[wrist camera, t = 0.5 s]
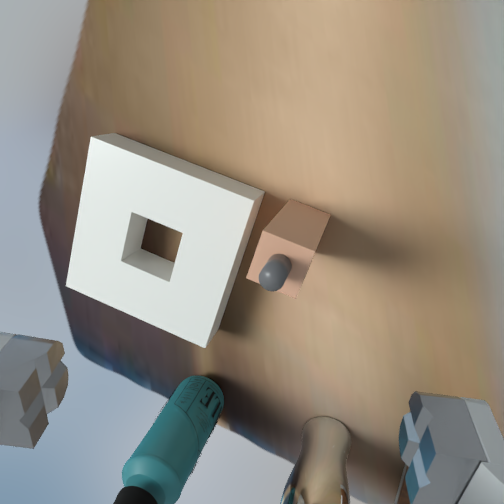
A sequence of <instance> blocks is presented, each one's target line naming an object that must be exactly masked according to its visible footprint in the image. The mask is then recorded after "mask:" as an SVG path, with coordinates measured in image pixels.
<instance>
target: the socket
mask: <svg viewBox="0 0 504 504" xmlns="http://www.w3.org/2000/svg"><path fill="white" fill-rule="evenodd" d="M264 193H265V191H262V190H260V189H257V188H255V187H252V186H249V185H247V184H244V183H242V182H239V181H237V180H234V179H231V178H229V177H226V176H224V175H221V174H219V173H216V172H213V171H211V170H208V169H206V168H203V167H201V166H198V165H195V164H193V163H190V162H188V161H185V160H183V159H180V158H178V157H175V156H172V155H170V154H167V153H165V152H162V151H160V150H157V149H154V148H152V147H149V146H147V145H144V144H142V143H139V142H136V141H134V140H131V139H129V138H126V137H124V136H121V135H118V134H116V133H112V134H105V135H98V136H91V140H90V146H89V152H88V158H87V164H86V169H85V175H84V181H83V187H82V193H81V199H80V205H79V211H78V217H77V223H76V229H75V235H74V241H73V247H72V253H71V259H70V265H69V271H68V277H67V283H66V286H67V287H69V288H71V289H74V290H76V291H78V292H80V293H83V294H85V295H87V296H89V297H92V298H94V299H96V300H98V301H101V302H103V303H105V304H107V305H110V306H112V307H114V308H116V309H118V310H121V311H123V312H125V313H127V314H130V315H132V316H134V317H136V318H139V319H141V320H143V321H145V322H148V323H150V324H152V325H154V326H156V327H159V328H161V329H163V330H165V331H168V332H170V333H172V334H174V335H177V336H179V337H181V338H183V339H186V340H188V341H190V342H192V343H194V344H197V345H199V346H201V347H203V348H206V346H207V345H208V344H209V342H210V341H211V339H212V338H213V336H214V335H215V333H216V332H217V331H218V329H219V326H220V323H221V320H222V317H223V314H224V311H225V308H226V305H227V302H228V299H229V297H230V294H231V291H232V288H233V285H234V282H235V279H236V276H237V273H238V270H239V267H240V264H241V261H242V258H243V255H244V252H245V249H246V246H247V243H248V241H249V238H250V235H251V232H252V229H253V226H254V223H255V220H256V217H257V214H258V211H259V208H260V205H261V202H262V199H263V196H264ZM147 219H150V220H153V221H155V222H158V223H160V224H162V225H165V226H167V227H170V228H172V229H174V230H177V231H179V232H182V233H183V235H182V238H181V242H180V246H179V249H178V253H177V257H176V260H175V263H174V262H171V261H169V260H167V259H164V258H162V257H160V256H157V255H155V254H153V253H150V252H148V251H145V250H143V249H141V245H142V240H143V236H144V232H145V228H146V224H147Z"/></svg>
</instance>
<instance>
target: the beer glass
mask: <svg viewBox="0 0 504 504" xmlns="http://www.w3.org/2000/svg"><path fill="white" fill-rule="evenodd" d="M351 443H352V439H351V435H350V432H349V431H348V429H347V428H346V427H345V425H343V424H342V423H341V422H339V421H338V420H336V419H333V418H330V417H315V418H312V419H310V420H309V421H308V422H306V424H305V425H304V427H303V429H302V433H301V452H300V455H299V457H298V460H297V462H296V464H295V466H294V468H293V470H292V472H291V474H290V476H289V478H288V481H287V483H286V486H285V488H284V492H283V495H282V499H281V503H280V504H350V494H349V486H348V479H347V471H346V461H347V456H348V454H349V451H350V448H351Z"/></svg>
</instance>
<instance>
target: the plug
mask: <svg viewBox="0 0 504 504" xmlns="http://www.w3.org/2000/svg"><path fill="white" fill-rule="evenodd" d="M330 215H331V214H328V213H325V212H323V211H320V210H318V209H315V208H313V207H310V206H307V205H305V204H302V203H300V202H297V201H295V200H292V199H290V200H289V201H288V202H287V203H286V204H285V205H284V207H283V208H282V209H281V210H280V211H279V212H278V213H277V215H276V216H275V217H274V218H273V219H272V220H271V222H270V223H269V224H268V225H267V226H266V227H265V228H264V230H263V231H262V234H261V237H260V240H259V243H258V245H257V248H256V251H255V254H254V257H253V260H252V263H251V265H250V268H249V271H248V274H247V277H246V278H247V279H249V280H252V281H254V282H257V283H259V284H261V286H262V287H263V288H264V289H266V290H268V291H278V292H280V293H283V294H285V295H288V296H290V297H292V298H295V299H296V298H297V295H298V293H299V290H300V288H301V286H302V283H303V281H304V278H305V276H306V274H307V271H308V269H309V266H310V264H311V262H312V259H313V257H314V254H315V252H316V250H317V247H318V245H319V242H320V240H321V237H322V235H323V232H324V230H325V228H326V225H327V223H328V220H329V218H330Z"/></svg>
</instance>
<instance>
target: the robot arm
mask: <svg viewBox="0 0 504 504" xmlns="http://www.w3.org/2000/svg"><path fill="white" fill-rule="evenodd" d="M64 354H65V352H64V348H63V344H62V343H61V342H59V341H54V340H49V339H43V338H36V337H30V336H25V335H16V334H10V333H4V332H0V445H8V446H15V447H23V448H32V449H34V447H35V445H36V444H37V442H38V440H39V439H40V437H41V435H42V434H43V432H44V430H45V429H46V427H47V425H48V424H49V423H48V419H47V414H48V413H50V412H52V411H53V410H55V409H56V408H58V407H59V405H60V403H61V401H62V400H63V398H64V395H65V392H66V389H67V386H68V369H67V367H66V366H65V365H64V364H63V363H62V362H61V359H62V357H63V355H64ZM409 406H410V411H411V412H409V413H407V414H406V415H404V416H403V419H402V422H401V425H400V431H399V449H400V454H401V459H402V460H403V461H404V462H405V463H406V465H407V466H408V467H409V469H408V471H407V473H406V476H405V480H406V485H407V490H408V495H409V500H410V504H504V439H503V436H502V434H501V432H500V430H499V427H498V425H497V423H496V420H495V418H494V416H493V414H492V411H491V409H490V407H489V405H488V403H487V402H486V401H485V400H479V399H471V398H463V397H456V396H448V395H441V394H433V393H426V392H418V391H415V392H414V393H413V394H412V396H411V398H410V400H409Z"/></svg>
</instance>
